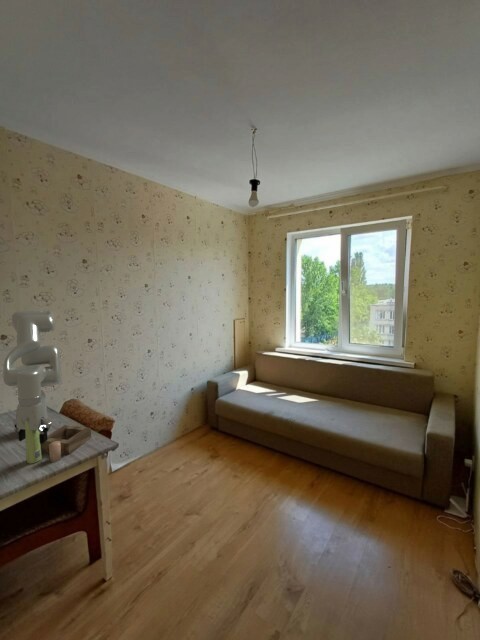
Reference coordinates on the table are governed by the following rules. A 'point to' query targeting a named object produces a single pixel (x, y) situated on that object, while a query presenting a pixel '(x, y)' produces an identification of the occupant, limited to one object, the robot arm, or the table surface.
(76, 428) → the square wooden frame
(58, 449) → the short stub
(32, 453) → the tube
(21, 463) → the table surface
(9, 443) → the table surface
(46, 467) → the table surface
